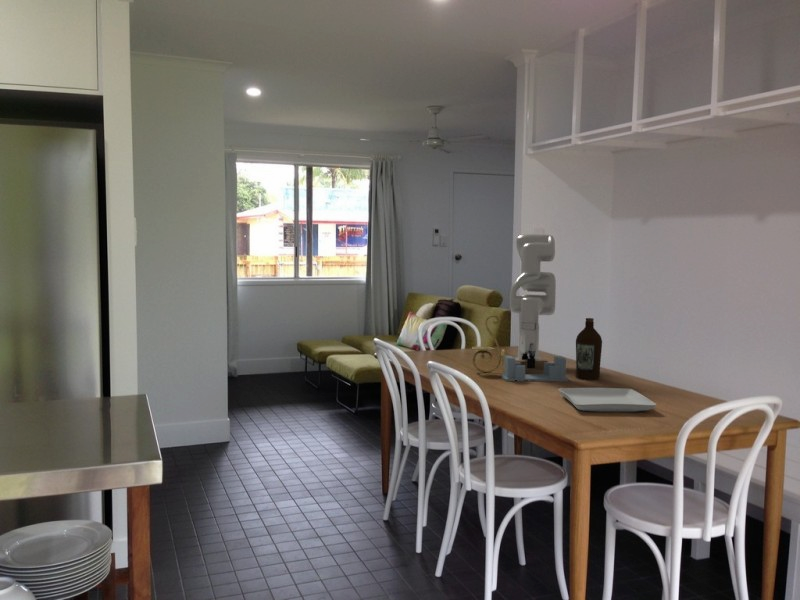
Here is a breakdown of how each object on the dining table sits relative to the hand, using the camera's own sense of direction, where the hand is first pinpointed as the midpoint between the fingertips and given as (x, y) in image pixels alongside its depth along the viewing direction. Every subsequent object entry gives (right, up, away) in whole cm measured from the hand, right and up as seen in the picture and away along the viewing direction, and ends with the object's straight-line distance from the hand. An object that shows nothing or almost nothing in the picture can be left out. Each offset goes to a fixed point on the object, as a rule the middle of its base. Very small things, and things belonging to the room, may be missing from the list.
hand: (528, 366), depth 302 cm
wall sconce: (-17, -3, +3) cm, 18 cm away
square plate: (+16, -9, -56) cm, 59 cm away
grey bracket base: (+1, -4, -10) cm, 11 cm away
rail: (0, -4, +1) cm, 4 cm away
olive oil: (+24, -4, -7) cm, 25 cm away
